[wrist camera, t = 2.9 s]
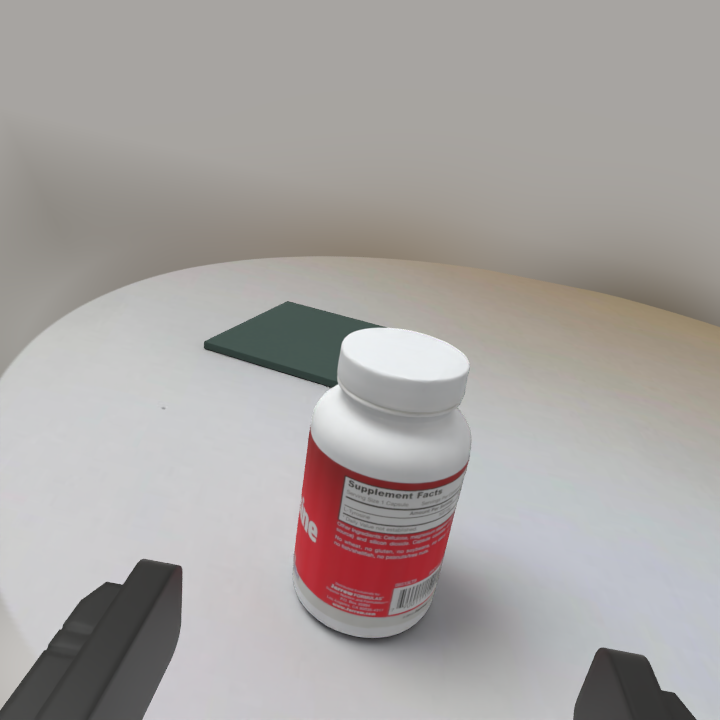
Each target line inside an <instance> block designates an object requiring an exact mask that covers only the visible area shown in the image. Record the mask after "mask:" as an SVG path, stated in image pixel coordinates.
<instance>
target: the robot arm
mask: <svg viewBox="0 0 720 720" xmlns="http://www.w3.org/2000/svg"><path fill="white" fill-rule="evenodd" d="M181 608H182V567H181V566H179V565H174V564H169V563H163V562H158V561H153V560H148V559H142V560H140V561H139V562H138V563H137V565H136V566H135V568H134V569H133V571H132V572H131V574H130V575H129V577H128V578H127V580H126V581H125V583H124V584H123V585H121V584H115V583H110V582H106V583H104V584H103V585H102V586H100V587H99V588H97V589H96V590H95V591H93V592H92V593H90V594H89V595H88V596H86V597H85V598H84V599H82V600H81V601H80V602H79V604H78V605H77V606H76V608H75V609H74V611H73V612H72V613H71V615H70V616H69V617H68V619H67V620H66V621H65V623H64V624H63V628H62V629H61V630H59V631H58V632H57V634H56V635H55V636H54V638H53V639H52V641H51V642H50V643H49V645H48V648H47V650H44V651H43V653H42V654H41V656H40V657H39V658H38V660H37V661H36V662H35V664H34V665H33V667H32V668H31V669H30V671H29V672H28V673H27V675H26V676H25V677H24V679H23V680H22V681H21V683H20V684H19V686H18V687H17V688H16V690H15V691H14V693H13V694H12V695H11V697H10V698H9V699H8V701H7V702H6V703H5V705H4V706H3V707H2V709H1V710H0V720H142V719H143V717H144V715H145V712H146V710H147V708H148V706H149V704H150V702H151V700H152V698H153V696H154V694H155V692H156V690H157V688H158V685H159V683H160V681H161V679H162V677H163V675H164V673H165V671H166V669H167V667H168V665H169V663H170V661H171V658H172V656H173V654H174V651H175V648H176V645H177V642H178V638H179V633H180V628H181ZM573 720H696V719H695V717H694V716H693V715H692V714H691V712H690V711H689V710H688V709H687V708H686V706H685V705H684V704H683V703H682V701H681V700H680V699H679V698H678V697H677V695H676V694H675V693H672V692H667V691H662V690H661V689H660V686H659V684H658V681H657V679H656V677H655V674H654V672H653V670H652V667H651V665H650V663H649V661H648V660H647V658H646V657H645V656H643V655H639V654H634V653H628V652H623V651H618V650H613V649H607V648H600V649H598V651H597V652H596V654H595V656H594V659H593V661H592V664H591V666H590V669H589V671H588V674H587V676H586V678H585V681H584V683H583V686H582V688H581V691H580V693H579V696H578V698H577V701H576V704H575V709H574V719H573Z"/></svg>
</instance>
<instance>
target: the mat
mask: <svg viewBox="0 0 720 720" xmlns="http://www.w3.org/2000/svg"><path fill="white" fill-rule="evenodd" d="M368 328H387V327H383V326H379V325H375V324H372V323H368V322H364V321H360V320H357V319H353V318H349V317H345V316H342V315H338V314H334V313H330V312H326V311H323V310H319V309H315V308H311V307H308V306H304V305H300V304H296V303H293V302H289V301H287V302H285V303H283V304H281V305H279V306H277V307H275V308H273V309H271V310H268V311H266V312H264V313H262V314H260V315H258V316H256V317H254V318H252V319H250V320H248V321H246V322H244V323H242V324H240V325H237V326H235V327H233V328H231V329H229V330H227V331H225V332H223V333H221V334H219V335H217V336H215V337H213V338H211V339H209V340H207V341H205V342H204V348H205V349H208V350H212V351H215V352H218V353H221V354H225V355H228V356H231V357H235V358H238V359H241V360H244V361H248V362H251V363H254V364H258V365H261V366H264V367H267V368H271V369H274V370H277V371H280V372H284V373H287V374H290V375H294V376H297V377H300V378H303V379H307V380H310V381H313V382H317V383H320V384H323V385H326V386H330V387H334V386H336V385H338V381H337V376H338V373H337V370H338V362H339V356H340V351H341V345H342V342H343V340H344V338H345V337H346V336H348V335H349V334H351V333H353V332H355V331H358V330H362V329H368Z"/></svg>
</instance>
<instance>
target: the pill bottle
mask: <svg viewBox="0 0 720 720" xmlns="http://www.w3.org/2000/svg"><path fill="white" fill-rule="evenodd" d="M469 369H470V364H469V361H468V359H467V357H466V356H465V355H464V354H463V353H462V352H461V351H459V350H458V349H457V348H455V347H454V346H452V345H450V344H449V343H447V342H445V341H442V340H440V339H437V338H435V337H432V336H429V335H426V334H422V333H419V332H415V331H410V330H404V329H396V328H368V329H362V330H358V331H355V332H353V333H351V334H349V335H348V336H346V337H345V338H344V340H343V342H342V345H341V351H340V356H339V362H338V370H337V373H338V376H337V381H338V385H336V386H334V387H333V388H331V389H330V390H328V391H327V392H326V393H325V394H324V395H323V396H322V397H321V398H320V400H319V401H318V402H317V404H316V406H315V408H314V411H313V415H312V420H311V425H310V432H309V439H308V449H307V456H306V464H305V472H304V480H303V488H302V496H301V504H300V511H299V520H298V527H297V534H296V543H295V551H294V559H293V583H294V587H295V590H296V593H297V595H298V597H299V599H300V601H301V603H302V604H303V605H304V607H305V608H306V609H307V610H308V611H309V612H310V613H311V614H312V615H313V616H314V617H315V618H316V619H317V620H319V621H320V622H322V623H323V624H325V625H326V626H328V627H330V628H332V629H334V630H337V631H339V632H342V633H345V634H348V635H352V636H357V637H365V638H380V637H388V636H392V635H396V634H399V633H401V632H403V631H405V630H407V629H409V628H410V627H412V626H413V625H414V624H416V623H417V622H418V621H419V620H420V619H421V618H422V617H423V616H424V614H425V613H426V612H427V610H428V608H429V606H430V604H431V602H432V599H433V596H434V593H435V589H436V585H437V581H438V578H439V573H440V570H441V565H442V561H443V557H444V553H445V549H446V545H447V541H448V537H449V533H450V529H451V525H452V521H453V517H454V513H455V509H456V505H457V502H458V499H459V495H460V491H461V487H462V483H463V480H464V476H465V473H466V470H467V465H468V461H469V457H470V450H471V431H470V427H469V425H468V423H467V420H466V418H465V417H464V415H463V414H462V412H461V411H460V410H459V409H458V408H457V407H458V406H459V405H460V403H461V401H462V399H463V397H464V395H465V389H466V383H467V378H468V374H469Z"/></svg>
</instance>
